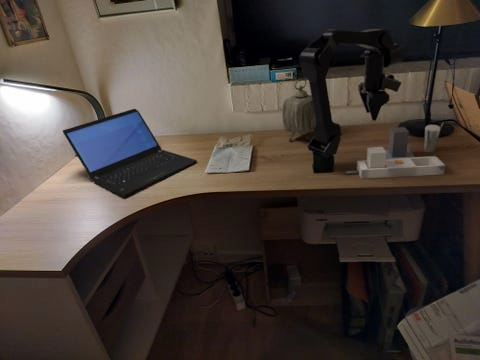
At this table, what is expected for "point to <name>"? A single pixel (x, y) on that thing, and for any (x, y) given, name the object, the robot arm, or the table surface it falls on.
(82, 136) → the laptop
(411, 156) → the slate mat
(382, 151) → the block
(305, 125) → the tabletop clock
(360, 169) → the power strip
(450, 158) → the table surface
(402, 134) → the grey rectangular block
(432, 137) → the milkshake
